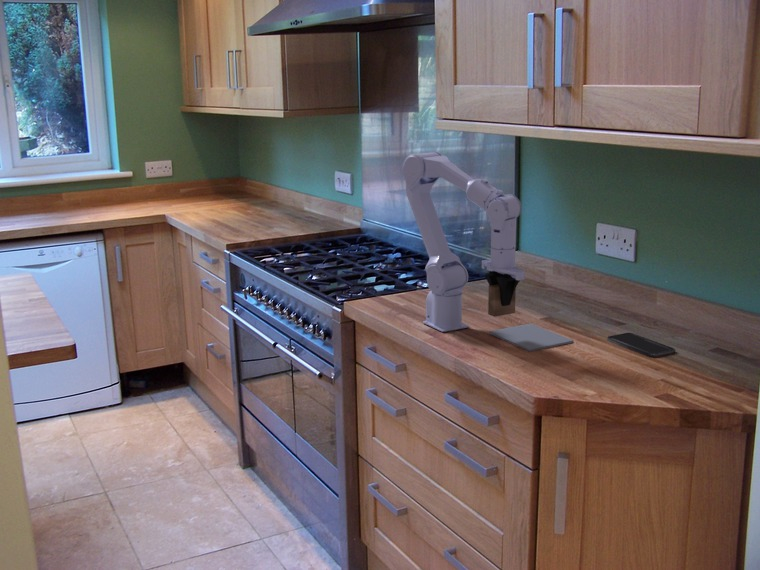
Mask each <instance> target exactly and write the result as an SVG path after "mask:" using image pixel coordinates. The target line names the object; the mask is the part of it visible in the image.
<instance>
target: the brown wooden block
mask: <svg viewBox="0 0 760 570" xmlns="http://www.w3.org/2000/svg"><path fill="white" fill-rule="evenodd" d="M516 288H517V287H516ZM516 288H515V290H514V293H513V296H512V300H511V303H510V305H507V306H502V305H501V299H500V288H499V284H496V285H490V286H489V285H488V304H487V305H488V307H487V309H488V311H487V315H490V316H491V317H493V318H494V317H501V316H505V315H511V314H512V315H513V314H516V292H517V289H516Z"/></svg>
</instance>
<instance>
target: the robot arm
mask: <svg viewBox="0 0 760 570" xmlns="http://www.w3.org/2000/svg"><path fill="white" fill-rule="evenodd" d="M400 169H401V172H402V175H403V179H404V180H405V192H406V197H407V199H408V202H409V204H410V207H411V210H412V213H413V217H414V219H415V222H416V224H417V227H418V230H419V232H420V233H419V234H420V236H421V239H422V241H423V245H424V247H425V250H426V252H427V255H428V258H429V259H428V262H427V263H426V265H425V268H424V270H425V272H426V283H427V287H428V289H429V292H428V293H427V295H426V298H425V299H426V300H425V320H423V324H425V325H426V326H429V327H430V328H432V329H435V330H437V331H439V332H441V333H445V332H451V331H456V330H462V329H468V328H469V327H470V325H468V324H466V323H464V322H462V321H463V318H462V317H463V315H462V314H463V308H462V307H463V291H464V287H465V286H466V285H467V283H468V281H469V273H468V270H467V268H466V267H465V266H464V265H463V263H462V261H461V259H460V257H459V256H458V255H457V254H455V253H453V252H452V251H451V250H450V247H449V244H448V241H447V238H446V235H445V233H444V230H443V227H442V224H441V222H440V217H439V216H438V213H437V210H436V207H435V205H434V202H433V199H432V196H431V191H432V189H433V187H434V185H435V184H436V183H437V182H438V180H439V179H441V178H442V179H443V180H444V181H447V182H449V183H450V184H452V185H453V186H455V187H457V188H458V189H460V190H462V191H464V192H465V196H466V198H467V200H469V201H470V202H471V203H473V204H474V205H476V206H477V207H479V208H480V209H482V210H483V211H484V212H486V216H487V218H488V220H489V227H490V229H491V231H490V259H485V260H481V269H482V270H486V271H489V272H486V273H484V277H485V279H486V281H487V283H488V287H489V286H490V285H496V284H499V288H500V299H501V305H502V306H507V305H510V303H511V300H512V296H513V293H514V290H515V288H517V286H518V285H519V283H520V281H524V280H526V271H525V270H522V269H521V268H519V267H518V266H517V265H516V247H517V246H516V243H517V242H516V241H517V218H519V216H520V215H521V213H522V202H521V200H520V199H519V198H518V197H517V196H516V195H515V194H512V193H509V194H505V192H504V191H503V190H502V189H497V187H494V186H493V185H492V184H490V183H489V180H488V179H487V178H476V179H474V178H473V177H471V176H470V175H469V174H467V173H466V172H465V171H464V170H461V168H459V167H458V166H456V164H454V163H452V162H451V161H450V159H449V158H448V156H446V155H444V154H442V153H441V152H439V151H431V152H425V153H424V152H423V153H410V154H409V155H407V156H406V157H405V158H404V161H403V164H402V166H401V168H400Z"/></svg>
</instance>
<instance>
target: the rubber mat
mask: <svg viewBox="0 0 760 570" xmlns="http://www.w3.org/2000/svg"><path fill="white" fill-rule="evenodd" d="M487 333H488V334H489V335H492V336H494V337H496V338H499V339H500V340H503V341H504V342H508V343H509V344H512V345H514V346H516V347H518V348H521V349H523V350H525V351H527V352H534V351H535V352H536V351H539V350H544V349H549V348H552V347H558V346H562V345H566V344H567V345H568V344H573V343H574V340H573V339H571V338H569V337H566V336H563V335H560V334H558V333H556V332H553V331H550V330H549V329H547V328H543V327H541V326H538V325H535V324H533V323H527V324H521V325H514V326H510V327H505V328H498V329H493V330H489V331H488V332H487Z"/></svg>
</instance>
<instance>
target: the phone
mask: <svg viewBox="0 0 760 570" xmlns="http://www.w3.org/2000/svg"><path fill="white" fill-rule="evenodd" d="M607 341H608V342H609V343H612V344H613V345H614V344H615V345H617V346H619V347H622V348H625V349H627V350H629V351H633V352H635V353H637V354H640V355H642V356H645V357H648V358H651V359H654V358H655V359H656V358H659V357H664V356H665V357H666V356H669V355H673V354H676V348H674V347H672V346H670V345H666V344H664V343H661V342H658V341H655V340H654V339H653V340H652V339H650V338H647V337H644V336H643V335H639V334H637V333H634V332H625V333H620V334H614V335H613V334H612V335H608V336H607Z"/></svg>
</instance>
